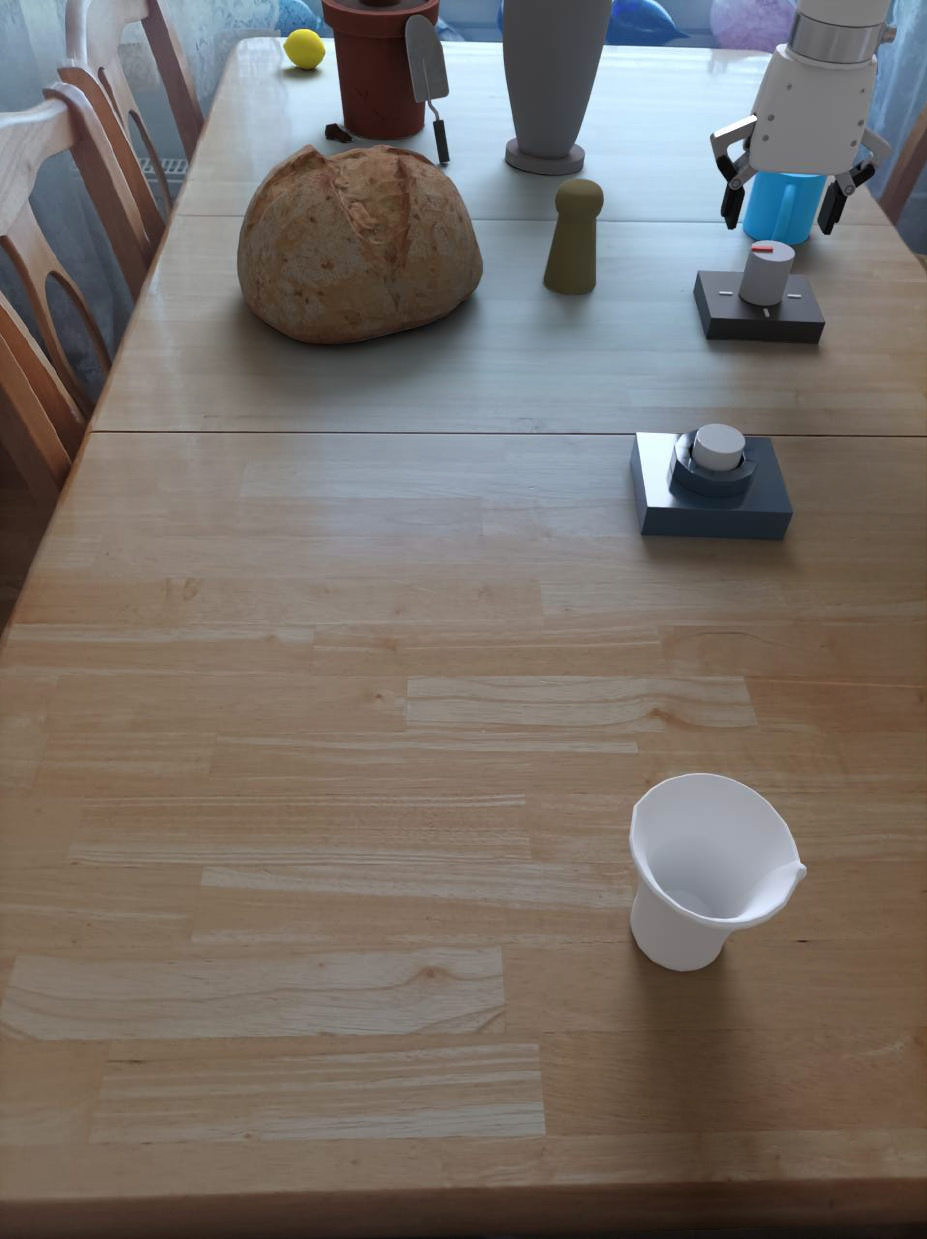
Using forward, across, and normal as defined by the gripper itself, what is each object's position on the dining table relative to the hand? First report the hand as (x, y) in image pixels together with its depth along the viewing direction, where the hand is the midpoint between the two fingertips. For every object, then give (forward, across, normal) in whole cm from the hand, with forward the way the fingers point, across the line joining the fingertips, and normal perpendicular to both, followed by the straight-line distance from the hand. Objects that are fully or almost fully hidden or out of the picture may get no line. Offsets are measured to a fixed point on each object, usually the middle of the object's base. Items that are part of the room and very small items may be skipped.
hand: (776, 226), depth 95 cm
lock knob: (+7, 0, 0) cm, 7 cm away
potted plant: (+11, +44, -46) cm, 64 cm away
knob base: (+10, 0, 0) cm, 10 cm away
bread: (+11, +42, -1) cm, 44 cm away
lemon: (+12, +58, -70) cm, 92 cm away
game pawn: (+10, +20, -6) cm, 23 cm away
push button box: (+10, +10, +31) cm, 34 cm away
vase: (+11, +22, -38) cm, 45 cm away
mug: (+10, -6, -19) cm, 22 cm away
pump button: (+5, +10, +31) cm, 33 cm away
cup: (+10, +17, +70) cm, 73 cm away
